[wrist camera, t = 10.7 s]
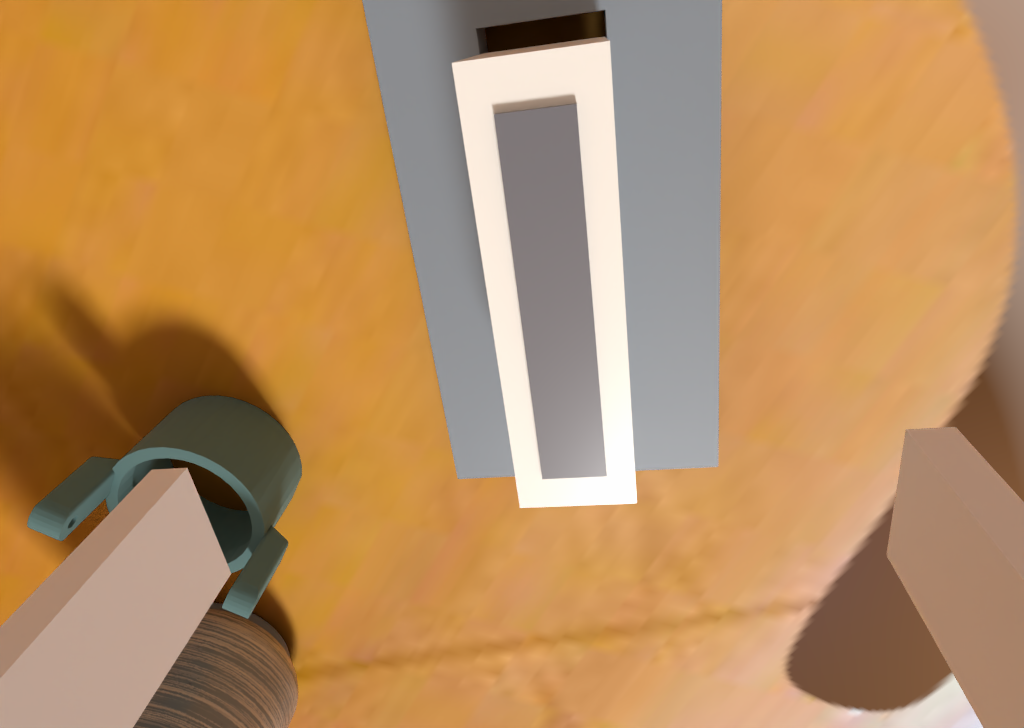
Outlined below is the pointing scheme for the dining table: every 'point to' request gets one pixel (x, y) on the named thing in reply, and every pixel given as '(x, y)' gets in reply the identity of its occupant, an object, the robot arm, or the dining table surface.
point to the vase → (227, 678)
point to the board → (642, 197)
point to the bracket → (222, 450)
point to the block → (553, 264)
